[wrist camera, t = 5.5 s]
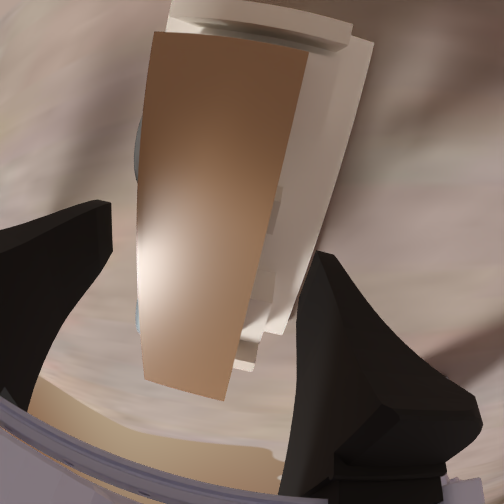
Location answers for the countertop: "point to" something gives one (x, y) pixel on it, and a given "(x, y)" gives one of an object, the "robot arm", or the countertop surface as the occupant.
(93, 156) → the countertop surface
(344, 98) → the display stand
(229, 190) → the tan wooden plank
